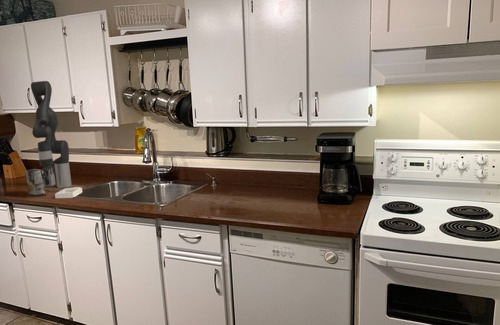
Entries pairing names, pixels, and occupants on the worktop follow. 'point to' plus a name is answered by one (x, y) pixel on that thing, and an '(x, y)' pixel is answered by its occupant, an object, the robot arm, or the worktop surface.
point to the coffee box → (35, 181)
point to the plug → (50, 180)
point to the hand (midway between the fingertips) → (49, 183)
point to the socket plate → (68, 192)
